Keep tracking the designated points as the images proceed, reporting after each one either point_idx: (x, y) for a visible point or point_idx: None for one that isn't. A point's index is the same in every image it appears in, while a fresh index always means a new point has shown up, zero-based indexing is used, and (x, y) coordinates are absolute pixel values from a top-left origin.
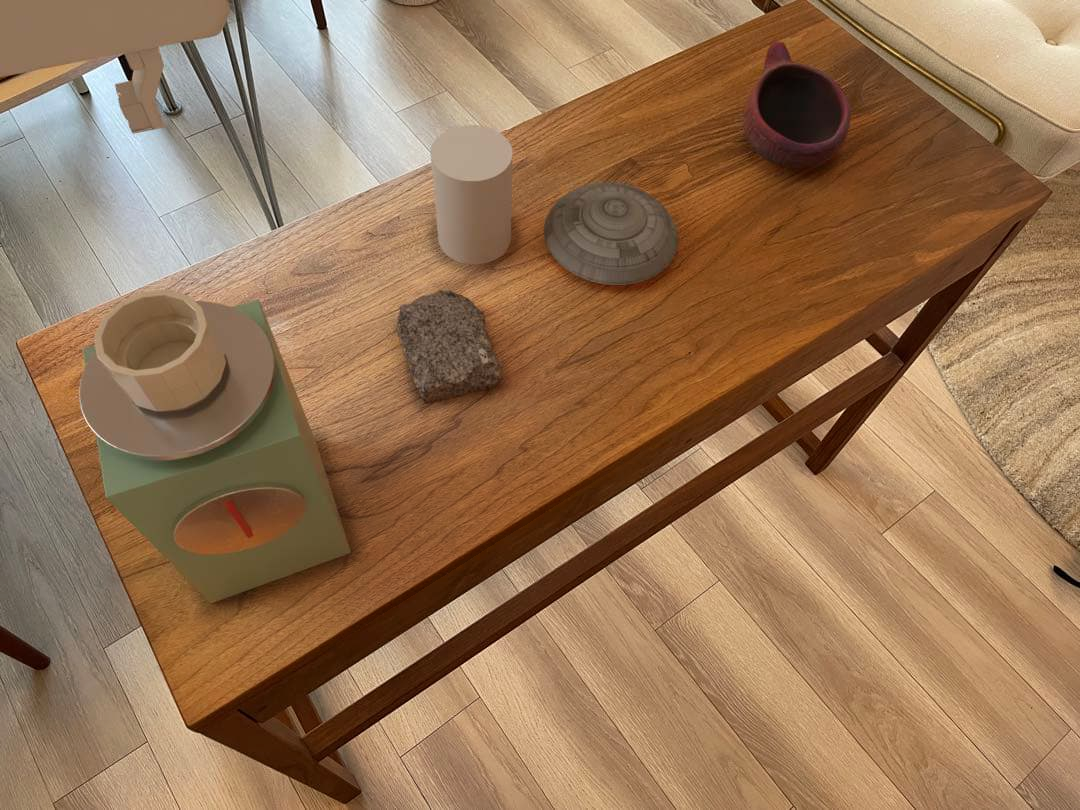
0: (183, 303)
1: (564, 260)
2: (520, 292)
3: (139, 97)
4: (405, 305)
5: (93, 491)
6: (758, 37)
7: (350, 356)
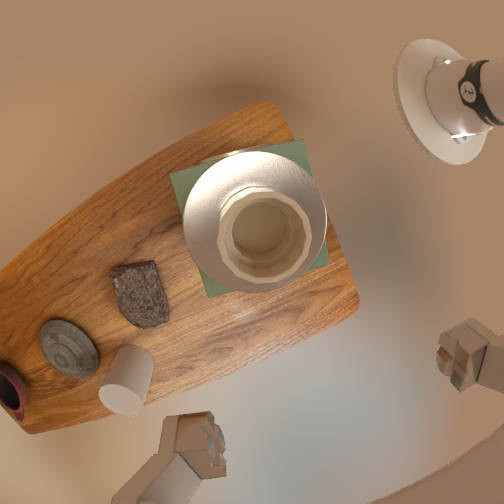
0: (241, 270)
1: (85, 338)
2: (107, 325)
3: (171, 460)
4: (163, 322)
5: (330, 223)
6: (38, 428)
7: (196, 295)
